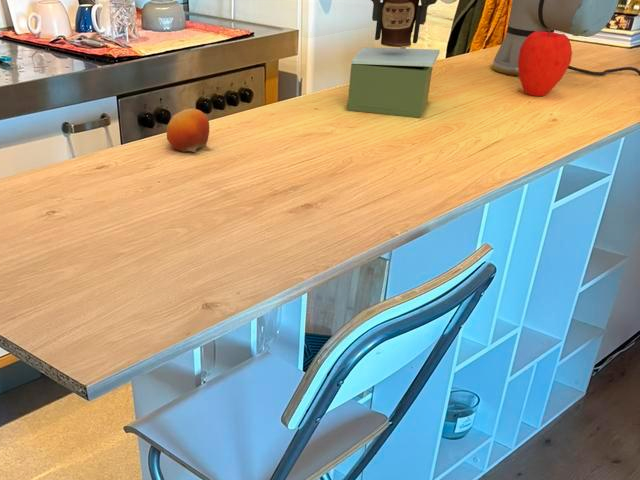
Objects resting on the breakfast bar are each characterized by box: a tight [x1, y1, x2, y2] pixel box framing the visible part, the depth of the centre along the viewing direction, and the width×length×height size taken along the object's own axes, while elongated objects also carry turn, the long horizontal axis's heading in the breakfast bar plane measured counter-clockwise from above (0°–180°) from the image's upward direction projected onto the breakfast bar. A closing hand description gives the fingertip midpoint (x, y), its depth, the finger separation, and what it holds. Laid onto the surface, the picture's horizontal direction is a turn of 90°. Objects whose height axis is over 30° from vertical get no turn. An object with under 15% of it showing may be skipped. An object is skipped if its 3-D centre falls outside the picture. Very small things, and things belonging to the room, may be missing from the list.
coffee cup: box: [380, 0, 420, 48], centre depth 169 cm, size 9×8×13 cm
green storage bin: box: [346, 63, 434, 119], centre depth 178 cm, size 16×14×9 cm
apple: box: [518, 30, 573, 97], centre depth 189 cm, size 12×12×13 cm
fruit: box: [166, 108, 210, 153], centre depth 151 cm, size 8×8×8 cm
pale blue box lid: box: [351, 46, 441, 67], centre depth 175 cm, size 17×14×1 cm
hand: (396, 40), depth 173 cm, fingers closed on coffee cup, 7 cm apart
